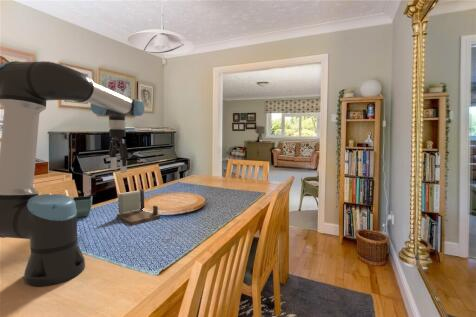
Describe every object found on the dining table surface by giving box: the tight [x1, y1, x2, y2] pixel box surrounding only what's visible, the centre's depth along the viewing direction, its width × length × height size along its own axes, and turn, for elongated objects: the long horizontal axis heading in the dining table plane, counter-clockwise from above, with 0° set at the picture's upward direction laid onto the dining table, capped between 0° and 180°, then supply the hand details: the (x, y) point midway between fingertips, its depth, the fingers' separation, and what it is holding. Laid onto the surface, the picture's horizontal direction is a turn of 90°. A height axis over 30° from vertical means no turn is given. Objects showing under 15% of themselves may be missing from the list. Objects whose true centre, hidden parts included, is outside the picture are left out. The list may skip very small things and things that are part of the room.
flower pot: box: [71, 195, 93, 218], centre depth 133 cm, size 9×9×9 cm
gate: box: [117, 190, 140, 214], centre depth 134 cm, size 10×2×10 cm, turn 136°
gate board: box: [116, 188, 161, 226], centre depth 131 cm, size 15×16×12 cm
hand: (118, 171), depth 135 cm, fingers open, 12 cm apart
